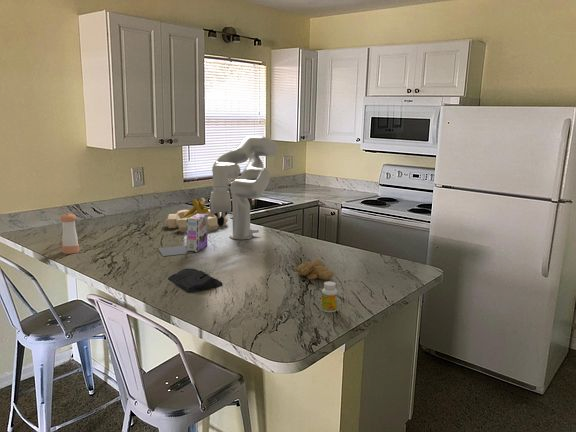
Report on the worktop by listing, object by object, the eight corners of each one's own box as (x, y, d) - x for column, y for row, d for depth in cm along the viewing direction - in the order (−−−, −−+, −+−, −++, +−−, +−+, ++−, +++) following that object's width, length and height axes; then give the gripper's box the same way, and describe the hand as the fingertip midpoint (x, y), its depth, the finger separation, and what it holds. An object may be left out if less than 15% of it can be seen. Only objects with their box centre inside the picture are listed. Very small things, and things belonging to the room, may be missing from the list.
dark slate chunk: (198, 272, 206) (198, 261, 205) (225, 287, 190) (225, 275, 189) (165, 279, 197) (164, 268, 196) (190, 295, 180) (189, 283, 179)
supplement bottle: (319, 311, 167) (320, 284, 165) (323, 305, 172) (324, 279, 170) (334, 313, 165) (335, 287, 163) (338, 308, 170) (339, 281, 168)
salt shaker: (73, 254, 227) (69, 214, 223) (59, 253, 229) (55, 213, 225) (82, 250, 234) (79, 211, 230) (69, 249, 236) (65, 210, 232)
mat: (185, 246, 244) (185, 245, 244) (192, 253, 232) (192, 252, 232) (157, 248, 238) (157, 248, 238) (163, 256, 226) (163, 255, 226)
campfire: (238, 226, 288) (237, 198, 284) (192, 236, 263) (191, 206, 259) (200, 217, 311) (200, 191, 307) (155, 226, 286) (154, 198, 282)
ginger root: (293, 267, 210) (297, 250, 208) (328, 276, 210) (333, 259, 208) (292, 280, 195) (297, 262, 193) (329, 290, 195) (335, 272, 193)
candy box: (197, 252, 233) (197, 219, 229) (186, 251, 234) (186, 218, 230) (207, 245, 246) (208, 213, 243) (196, 244, 247) (197, 212, 244)
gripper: (232, 187, 245) (232, 223, 249) (203, 188, 239) (204, 225, 242) (237, 189, 238) (237, 225, 242) (207, 190, 232) (208, 228, 236)
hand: (220, 225), depth 242 cm, fingers closed
